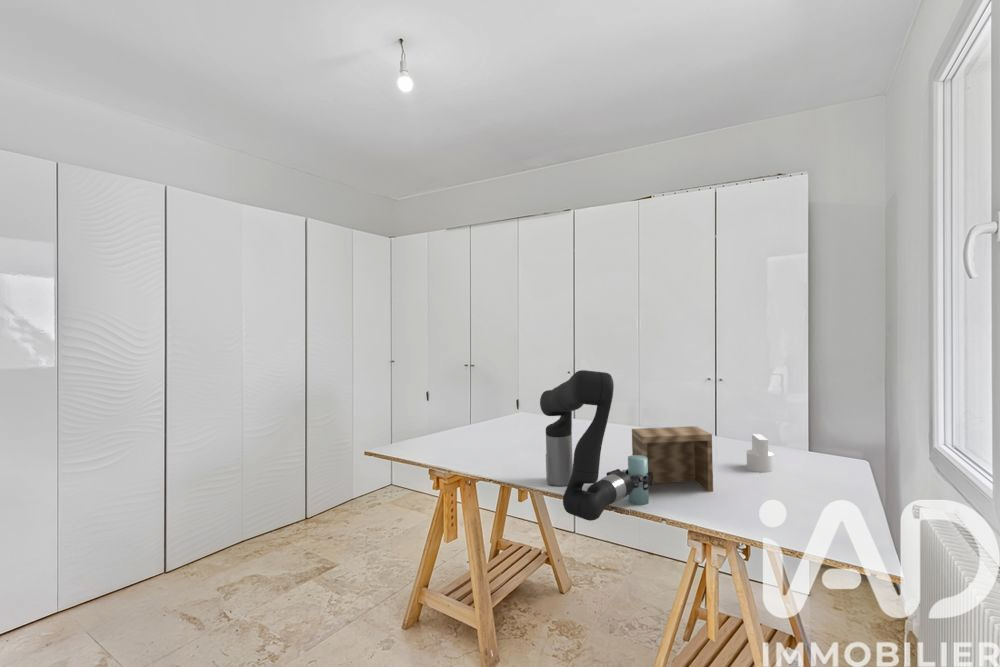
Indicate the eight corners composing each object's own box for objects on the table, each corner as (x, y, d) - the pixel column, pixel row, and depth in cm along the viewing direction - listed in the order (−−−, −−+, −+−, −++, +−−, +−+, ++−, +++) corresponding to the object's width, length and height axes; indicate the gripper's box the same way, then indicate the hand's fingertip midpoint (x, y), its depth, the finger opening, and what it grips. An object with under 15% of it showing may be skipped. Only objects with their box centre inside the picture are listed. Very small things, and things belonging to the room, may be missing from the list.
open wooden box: (643, 494, 159) (642, 437, 159) (633, 482, 171) (631, 428, 171) (713, 491, 160) (711, 434, 159) (697, 479, 172) (696, 426, 171)
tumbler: (632, 505, 150) (630, 460, 150) (626, 498, 156) (625, 455, 156) (651, 504, 150) (650, 460, 150) (645, 497, 156) (644, 454, 156)
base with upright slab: (777, 472, 176) (777, 440, 175) (751, 472, 178) (750, 439, 177) (769, 465, 185) (768, 434, 184) (743, 464, 186) (743, 433, 186)
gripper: (636, 479, 138) (662, 465, 150) (593, 470, 148) (621, 457, 160) (636, 505, 138) (663, 489, 150) (593, 494, 148) (621, 479, 160)
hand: (641, 473), depth 155 cm, fingers closed on tumbler, 6 cm apart
